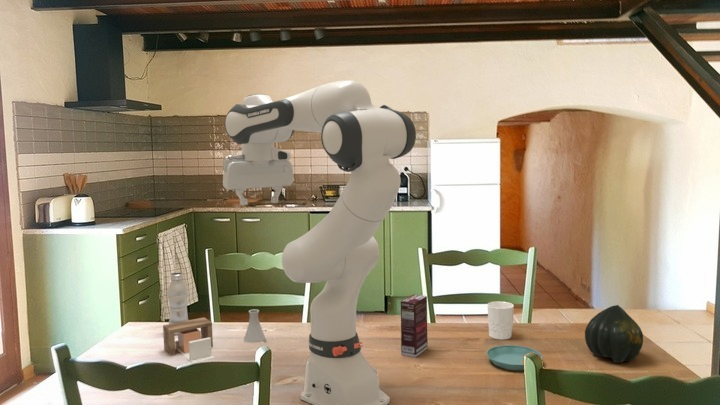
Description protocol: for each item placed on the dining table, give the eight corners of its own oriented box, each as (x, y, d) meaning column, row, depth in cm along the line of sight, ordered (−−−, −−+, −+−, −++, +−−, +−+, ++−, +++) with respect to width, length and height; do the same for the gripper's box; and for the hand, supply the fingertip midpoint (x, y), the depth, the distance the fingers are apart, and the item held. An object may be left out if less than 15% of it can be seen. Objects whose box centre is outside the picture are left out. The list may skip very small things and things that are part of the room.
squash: (600, 350, 158) (632, 305, 160) (566, 335, 173) (596, 293, 175) (634, 381, 162) (665, 336, 164) (598, 363, 176) (627, 322, 178)
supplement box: (413, 346, 180) (413, 293, 178) (428, 348, 177) (428, 295, 175) (400, 355, 172) (399, 300, 170) (415, 358, 170) (415, 303, 168)
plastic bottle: (164, 337, 190) (161, 275, 188) (176, 331, 196) (173, 270, 194) (182, 339, 188) (179, 276, 186) (194, 332, 194) (191, 271, 192)
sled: (215, 360, 169) (214, 340, 168) (193, 365, 165) (192, 345, 165) (195, 345, 181) (194, 327, 181) (174, 350, 177) (173, 331, 177)
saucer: (476, 358, 170) (476, 349, 169) (520, 351, 175) (520, 342, 175) (506, 377, 156) (506, 367, 156) (553, 369, 161) (553, 359, 161)
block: (201, 349, 175) (200, 331, 175) (184, 353, 173) (183, 334, 172) (195, 345, 179) (194, 327, 179) (178, 348, 177) (177, 330, 176)
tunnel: (213, 350, 178) (211, 322, 177) (171, 359, 171) (169, 330, 170) (205, 344, 183) (204, 317, 182) (164, 353, 176) (163, 325, 175)
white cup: (482, 334, 189) (482, 303, 188) (502, 330, 192) (502, 300, 191) (497, 342, 182) (498, 309, 181) (518, 338, 185) (519, 306, 184)
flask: (269, 338, 188) (268, 307, 187) (263, 346, 180) (262, 314, 179) (246, 338, 188) (245, 307, 187) (239, 346, 181) (238, 313, 180)
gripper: (227, 155, 158) (229, 207, 160) (295, 153, 170) (296, 202, 172) (218, 155, 164) (219, 205, 165) (284, 153, 175) (285, 200, 177)
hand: (259, 203), depth 169 cm, fingers open, 8 cm apart
